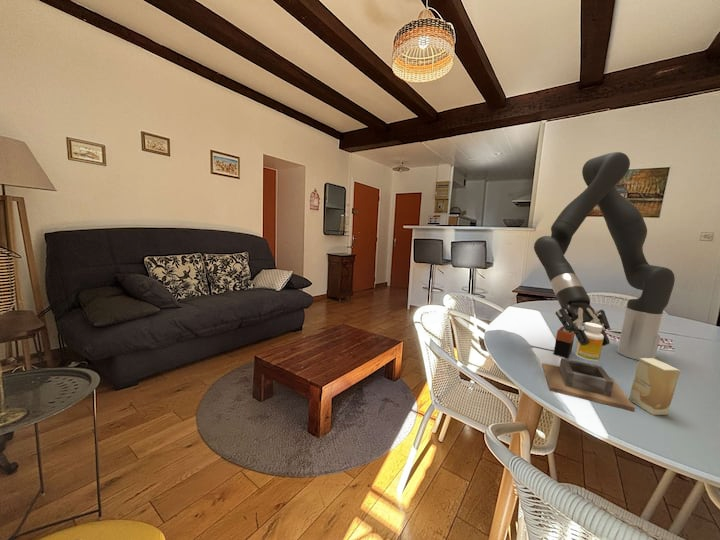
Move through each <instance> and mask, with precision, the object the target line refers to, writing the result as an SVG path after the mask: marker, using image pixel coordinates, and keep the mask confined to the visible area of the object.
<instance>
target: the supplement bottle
mask: <svg viewBox="0 0 720 540" xmlns="http://www.w3.org/2000/svg"><path fill="white" fill-rule="evenodd" d="M602 328H603V327H602V326H601V325H598V324H595V323H592V322H591V321H590V322H585V323H583V328H582V329H581V330H584V332H585V334H586V336H587V338H588V340H589V344H587V345H581V344H580V343H579V341H578V340H577V343H576V346H575V347H576V348H575V355H576V356H577V357H578V358H580V359H583V360H585V361H587V362H588V361H590V362H599V361H600V357H601V353H602V347H603V346H602V344H603V339H604V336H603V335H602V334H601V333H600V332H602Z"/></svg>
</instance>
